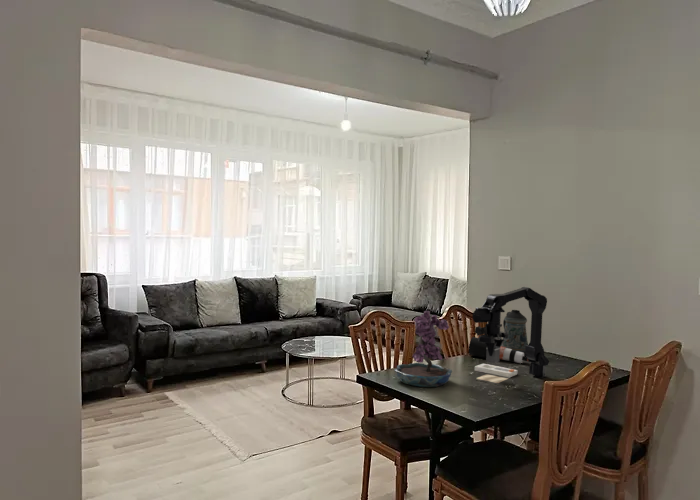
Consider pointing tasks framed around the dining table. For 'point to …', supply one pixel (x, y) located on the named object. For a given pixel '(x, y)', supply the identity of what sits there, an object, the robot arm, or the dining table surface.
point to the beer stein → (515, 331)
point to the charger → (493, 355)
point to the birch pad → (491, 378)
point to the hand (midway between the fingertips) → (493, 355)
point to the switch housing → (496, 370)
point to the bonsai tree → (425, 356)
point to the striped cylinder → (505, 354)
